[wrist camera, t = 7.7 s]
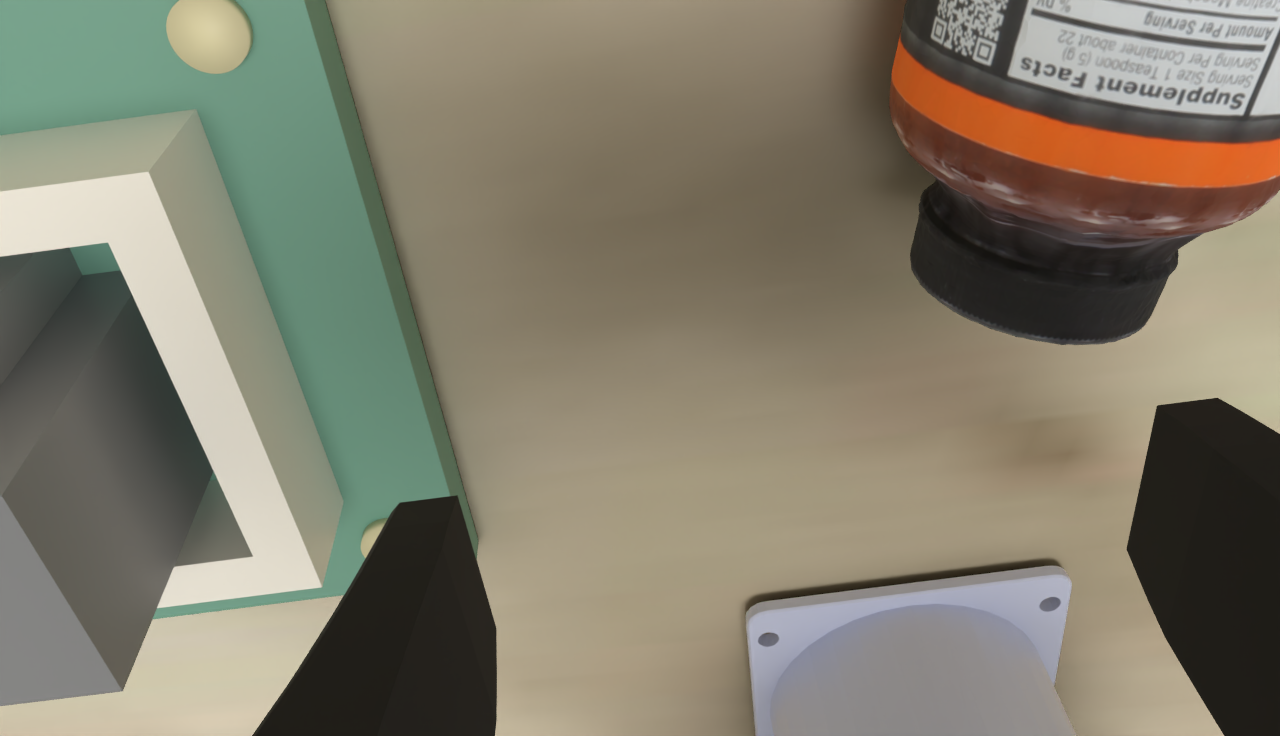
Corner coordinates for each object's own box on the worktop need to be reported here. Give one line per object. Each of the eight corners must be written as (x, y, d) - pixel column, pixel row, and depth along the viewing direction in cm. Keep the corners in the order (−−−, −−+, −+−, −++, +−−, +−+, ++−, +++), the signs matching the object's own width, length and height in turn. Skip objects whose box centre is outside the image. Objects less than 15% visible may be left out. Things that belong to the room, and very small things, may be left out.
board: (478, 540, 24) (472, 605, 23) (-30, 604, 25) (-71, 674, 23) (295, -104, 16) (265, -75, 15) (-458, -1, 17) (-568, 40, 15)
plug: (225, 441, 21) (122, 690, 16) (26, 466, 21) (-137, 722, 16) (127, 216, 18) (-35, 436, 13) (-103, 245, 18) (-352, 476, 13)
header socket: (343, 501, 22) (322, 587, 20) (-15, 547, 22) (-71, 637, 20) (195, 108, 17) (148, 171, 15) (-265, 171, 17) (-372, 241, 15)
